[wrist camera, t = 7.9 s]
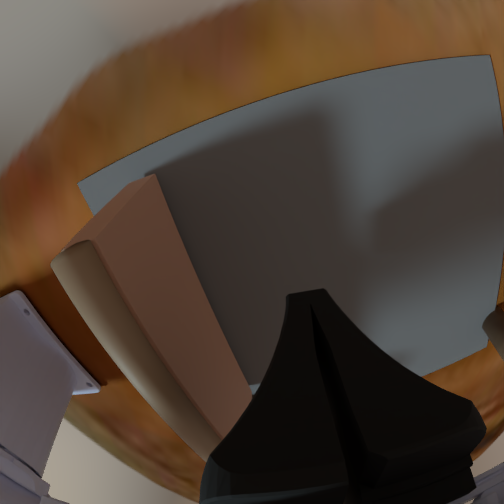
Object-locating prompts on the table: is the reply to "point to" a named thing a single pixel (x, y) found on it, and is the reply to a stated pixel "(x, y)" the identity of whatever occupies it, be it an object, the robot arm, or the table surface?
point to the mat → (343, 208)
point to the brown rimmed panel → (155, 314)
